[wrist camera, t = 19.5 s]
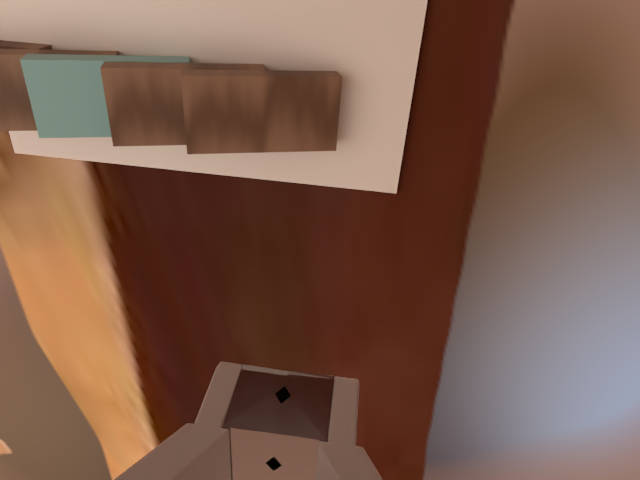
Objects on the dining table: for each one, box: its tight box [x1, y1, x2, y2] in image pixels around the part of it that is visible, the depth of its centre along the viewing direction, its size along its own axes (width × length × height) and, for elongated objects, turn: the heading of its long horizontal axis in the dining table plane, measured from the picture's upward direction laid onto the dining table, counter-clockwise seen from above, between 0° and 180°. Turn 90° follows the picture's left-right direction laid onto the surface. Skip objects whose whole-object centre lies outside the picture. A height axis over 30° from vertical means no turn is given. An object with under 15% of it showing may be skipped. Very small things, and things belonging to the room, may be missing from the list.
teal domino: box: [20, 54, 190, 138], centre depth 33 cm, size 5×2×10 cm
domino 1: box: [0, 49, 119, 131], centre depth 34 cm, size 5×2×10 cm
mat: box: [0, 0, 428, 193], centre depth 32 cm, size 24×30×1 cm
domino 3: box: [181, 69, 342, 154], centre depth 33 cm, size 5×2×10 cm
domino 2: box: [100, 62, 265, 146], centre depth 33 cm, size 5×2×10 cm
